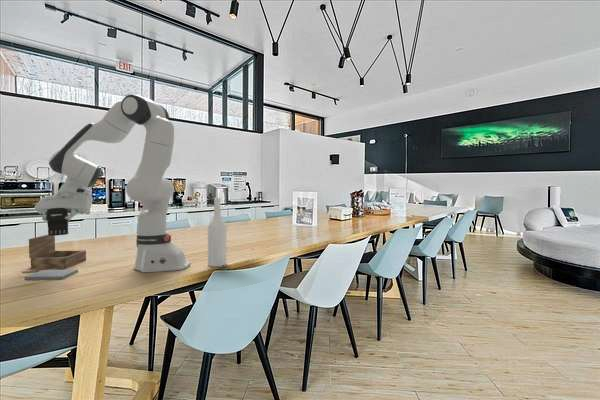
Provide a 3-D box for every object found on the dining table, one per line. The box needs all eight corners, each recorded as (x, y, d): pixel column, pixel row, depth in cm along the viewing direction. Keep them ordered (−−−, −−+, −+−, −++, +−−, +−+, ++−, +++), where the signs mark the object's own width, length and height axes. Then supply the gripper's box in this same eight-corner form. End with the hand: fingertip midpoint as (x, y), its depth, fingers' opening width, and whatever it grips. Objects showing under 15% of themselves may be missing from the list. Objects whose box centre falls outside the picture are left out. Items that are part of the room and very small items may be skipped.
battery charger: (46, 236, 125) (45, 208, 125) (48, 235, 129) (47, 207, 128) (67, 235, 129) (66, 207, 128) (69, 234, 132) (68, 207, 132)
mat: (78, 271, 125) (77, 269, 125) (62, 278, 116) (62, 276, 116) (42, 272, 124) (42, 270, 124) (24, 279, 114) (24, 277, 114)
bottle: (212, 267, 134) (212, 198, 133) (204, 264, 140) (204, 197, 139) (229, 264, 139) (229, 197, 138) (221, 261, 145) (221, 197, 144)
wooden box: (86, 259, 145) (85, 233, 144) (57, 271, 125) (57, 240, 124) (54, 260, 143) (53, 233, 143) (20, 272, 123) (19, 241, 123)
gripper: (40, 190, 134) (24, 215, 124) (91, 189, 136) (78, 214, 127) (48, 200, 138) (32, 225, 129) (97, 199, 140) (85, 223, 131)
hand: (56, 219), depth 128 cm, fingers closed on battery charger, 7 cm apart
